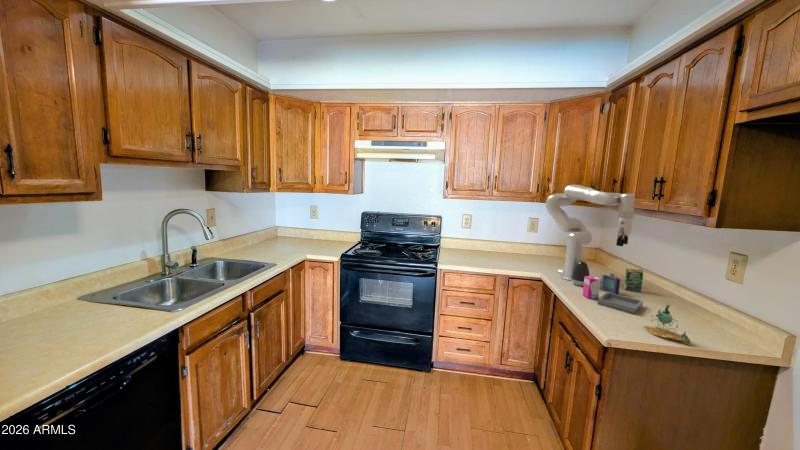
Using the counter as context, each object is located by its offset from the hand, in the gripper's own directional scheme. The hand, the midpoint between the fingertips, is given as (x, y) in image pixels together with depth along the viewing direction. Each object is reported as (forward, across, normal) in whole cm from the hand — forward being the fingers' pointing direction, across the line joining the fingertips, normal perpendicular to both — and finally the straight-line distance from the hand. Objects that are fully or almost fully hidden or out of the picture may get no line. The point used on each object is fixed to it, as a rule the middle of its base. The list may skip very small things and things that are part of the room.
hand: (621, 244), depth 178 cm
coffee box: (+29, +11, -6) cm, 31 cm away
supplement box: (+29, -22, +7) cm, 37 cm away
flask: (+29, -2, +2) cm, 29 cm away
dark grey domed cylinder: (+28, -3, +18) cm, 34 cm away
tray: (+28, -23, -7) cm, 37 cm away
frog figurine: (+29, -47, -28) cm, 62 cm away
